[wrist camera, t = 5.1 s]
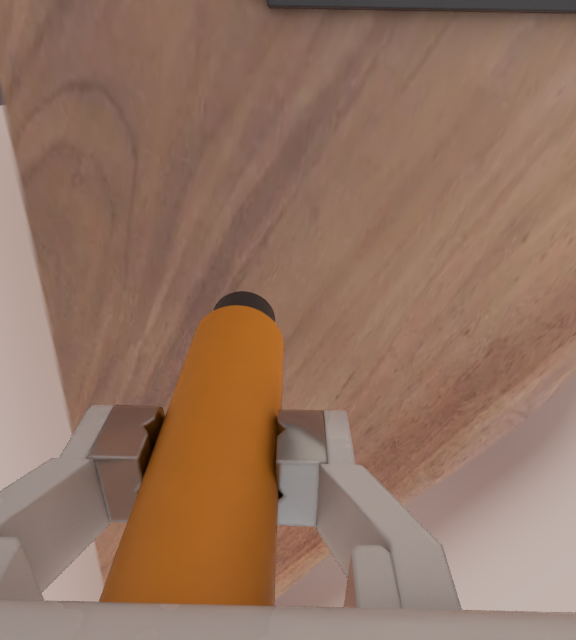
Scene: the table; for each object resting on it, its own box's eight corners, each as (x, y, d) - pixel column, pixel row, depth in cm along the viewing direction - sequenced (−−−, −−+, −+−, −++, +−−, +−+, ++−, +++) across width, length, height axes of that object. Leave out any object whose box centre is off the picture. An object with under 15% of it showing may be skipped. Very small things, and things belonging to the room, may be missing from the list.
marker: (204, 353, 16) (-29, 1127, 4) (198, 279, 14) (-161, 1117, 3) (285, 354, 16) (262, 1134, 4) (287, 281, 14) (260, 1124, 3)
